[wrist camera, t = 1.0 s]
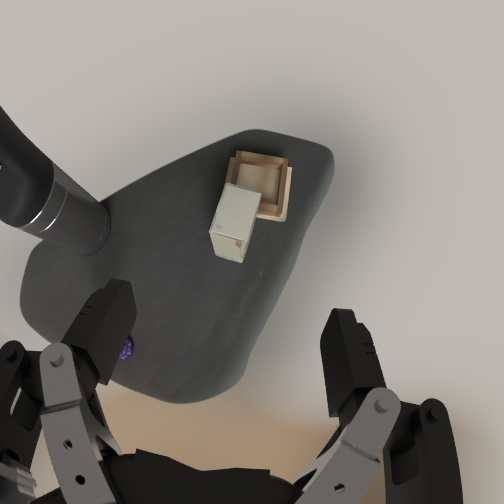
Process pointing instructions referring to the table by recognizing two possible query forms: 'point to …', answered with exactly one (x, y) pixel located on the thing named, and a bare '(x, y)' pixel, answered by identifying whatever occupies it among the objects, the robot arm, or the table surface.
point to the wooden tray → (263, 181)
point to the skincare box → (234, 222)
